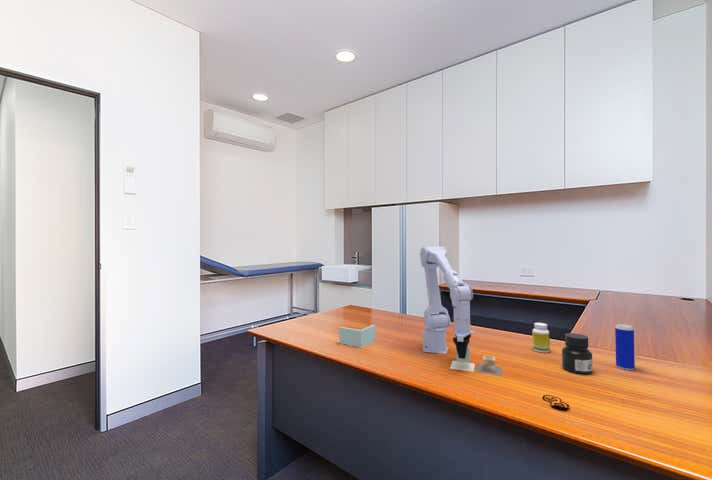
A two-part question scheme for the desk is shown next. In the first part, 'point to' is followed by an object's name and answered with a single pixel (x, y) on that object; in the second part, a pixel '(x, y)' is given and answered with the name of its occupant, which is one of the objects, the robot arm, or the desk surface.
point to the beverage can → (624, 346)
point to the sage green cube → (467, 357)
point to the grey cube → (489, 363)
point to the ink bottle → (577, 354)
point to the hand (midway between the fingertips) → (462, 355)
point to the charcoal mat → (480, 370)
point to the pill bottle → (541, 338)
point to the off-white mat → (462, 366)
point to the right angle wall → (357, 336)
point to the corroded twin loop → (558, 407)
